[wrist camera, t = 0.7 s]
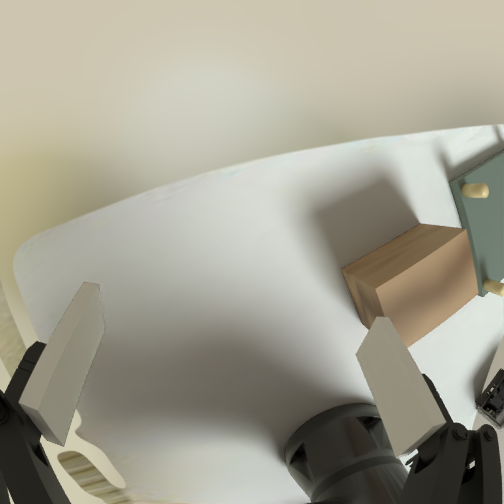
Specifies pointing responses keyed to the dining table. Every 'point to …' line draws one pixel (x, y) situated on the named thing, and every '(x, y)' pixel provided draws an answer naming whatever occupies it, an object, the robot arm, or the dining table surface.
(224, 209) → the dining table surface
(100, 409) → the dining table surface
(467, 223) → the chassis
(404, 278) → the walnut block
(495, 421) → the electrical switch
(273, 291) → the dining table surface
